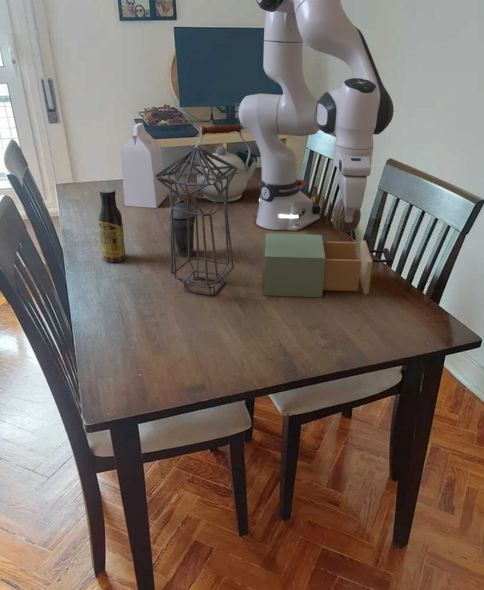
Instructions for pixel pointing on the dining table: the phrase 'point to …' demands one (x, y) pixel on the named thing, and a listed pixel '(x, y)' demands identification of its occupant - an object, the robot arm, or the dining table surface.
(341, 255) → the drawer
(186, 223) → the beverage cup
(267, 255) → the cabinet
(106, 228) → the sauce bottle
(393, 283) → the dining table surface
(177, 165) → the geometric lantern
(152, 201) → the milk
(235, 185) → the kettle
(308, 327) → the dining table surface
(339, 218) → the vase
